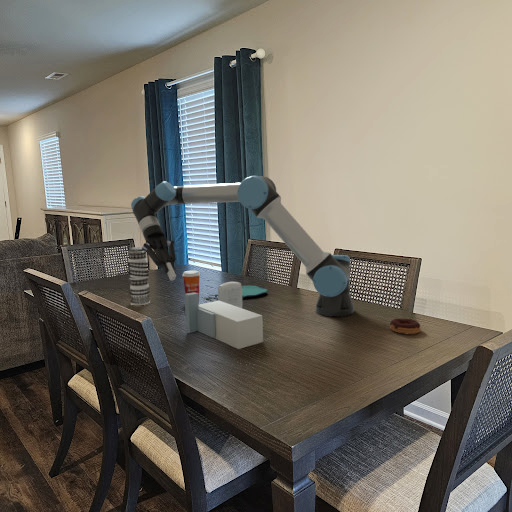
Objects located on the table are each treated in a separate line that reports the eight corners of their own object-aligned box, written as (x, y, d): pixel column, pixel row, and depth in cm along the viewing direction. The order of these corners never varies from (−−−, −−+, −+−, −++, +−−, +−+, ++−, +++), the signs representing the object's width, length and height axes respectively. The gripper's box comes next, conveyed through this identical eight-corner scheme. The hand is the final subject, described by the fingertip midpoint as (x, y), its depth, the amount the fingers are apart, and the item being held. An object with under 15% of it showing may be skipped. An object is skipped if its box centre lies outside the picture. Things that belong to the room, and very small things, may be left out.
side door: (215, 337, 154) (213, 298, 152) (204, 340, 151) (203, 300, 149) (196, 328, 163) (195, 292, 161) (186, 331, 161) (184, 294, 159)
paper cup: (184, 306, 196) (183, 274, 194) (182, 301, 204) (181, 271, 201) (202, 304, 198) (201, 272, 196) (200, 300, 206) (198, 269, 203)
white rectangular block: (262, 341, 150) (262, 315, 148) (238, 349, 144) (237, 321, 142) (219, 323, 170) (219, 300, 169) (196, 329, 164) (195, 305, 163)
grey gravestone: (238, 308, 191) (237, 279, 189) (244, 310, 187) (243, 281, 185) (217, 312, 185) (216, 282, 183) (222, 315, 182) (221, 284, 180)
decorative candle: (125, 305, 199) (121, 249, 195) (137, 300, 208) (133, 246, 204) (143, 306, 196) (140, 249, 192) (154, 301, 205) (151, 246, 201)
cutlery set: (275, 295, 212) (274, 290, 212) (217, 306, 197) (217, 301, 196) (252, 288, 229) (252, 283, 229) (198, 298, 213) (198, 293, 213)
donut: (423, 329, 159) (423, 318, 159) (417, 337, 151) (417, 326, 150) (393, 325, 165) (394, 314, 164) (386, 333, 156) (386, 322, 156)
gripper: (164, 235, 185) (185, 281, 175) (133, 237, 178) (154, 286, 167) (169, 222, 180) (192, 270, 170) (138, 225, 173) (160, 274, 162)
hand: (173, 278), depth 168 cm, fingers closed
